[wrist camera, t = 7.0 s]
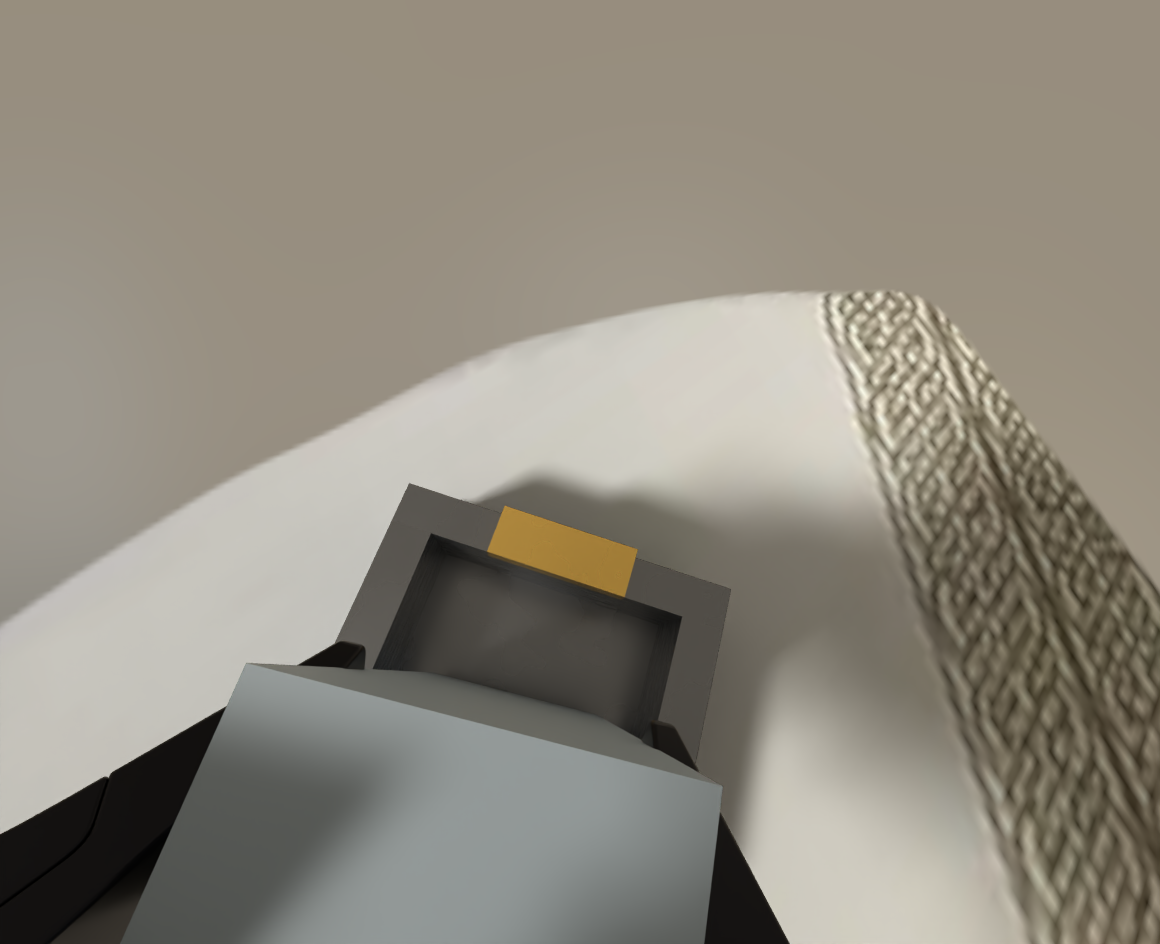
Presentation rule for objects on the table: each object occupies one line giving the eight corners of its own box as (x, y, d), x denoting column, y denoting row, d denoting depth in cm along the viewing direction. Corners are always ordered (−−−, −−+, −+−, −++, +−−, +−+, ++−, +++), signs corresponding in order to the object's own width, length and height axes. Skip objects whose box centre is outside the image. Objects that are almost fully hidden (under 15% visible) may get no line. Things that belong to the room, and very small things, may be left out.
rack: (610, 964, 15) (640, 1077, 11) (288, 850, 16) (197, 916, 11) (694, 597, 19) (740, 575, 15) (435, 511, 20) (409, 467, 15)
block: (577, 811, 15) (683, 1119, 4) (401, 766, 15) (109, 967, 4) (597, 714, 16) (723, 785, 5) (431, 672, 16) (246, 662, 5)
